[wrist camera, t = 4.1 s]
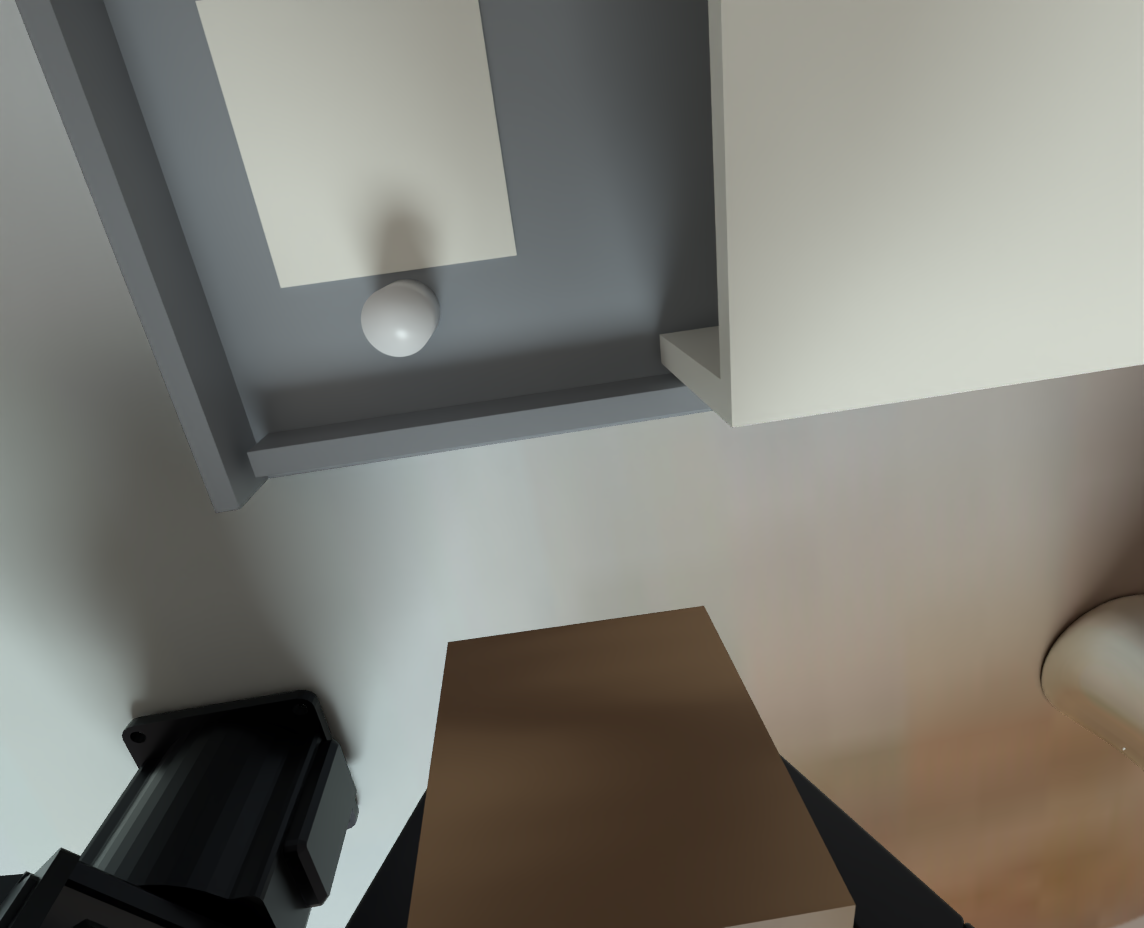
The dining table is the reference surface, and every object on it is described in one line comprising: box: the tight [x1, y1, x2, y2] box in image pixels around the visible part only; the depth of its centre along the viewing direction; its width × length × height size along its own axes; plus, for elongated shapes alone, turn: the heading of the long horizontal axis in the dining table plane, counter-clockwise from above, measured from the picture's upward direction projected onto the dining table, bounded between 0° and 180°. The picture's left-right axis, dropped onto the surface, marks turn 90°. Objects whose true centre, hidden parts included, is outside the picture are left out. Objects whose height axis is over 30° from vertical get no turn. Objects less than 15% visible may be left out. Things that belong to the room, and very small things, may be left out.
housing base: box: [15, 0, 719, 513], centre depth 14 cm, size 22×16×3 cm
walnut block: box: [407, 606, 856, 928], centre depth 8 cm, size 4×4×4 cm
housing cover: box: [659, 0, 1144, 428], centre depth 12 cm, size 9×13×6 cm
